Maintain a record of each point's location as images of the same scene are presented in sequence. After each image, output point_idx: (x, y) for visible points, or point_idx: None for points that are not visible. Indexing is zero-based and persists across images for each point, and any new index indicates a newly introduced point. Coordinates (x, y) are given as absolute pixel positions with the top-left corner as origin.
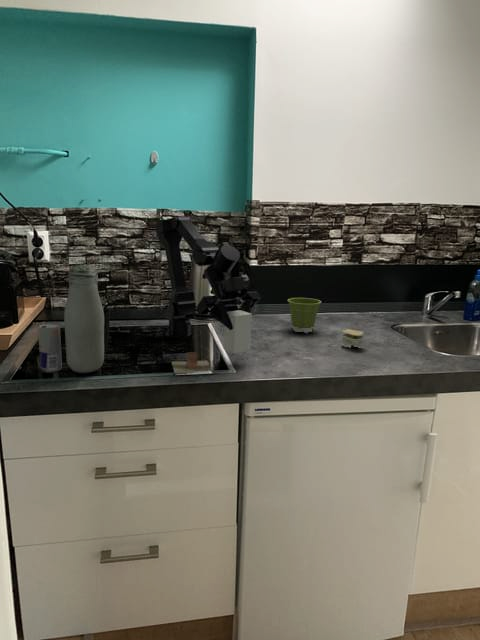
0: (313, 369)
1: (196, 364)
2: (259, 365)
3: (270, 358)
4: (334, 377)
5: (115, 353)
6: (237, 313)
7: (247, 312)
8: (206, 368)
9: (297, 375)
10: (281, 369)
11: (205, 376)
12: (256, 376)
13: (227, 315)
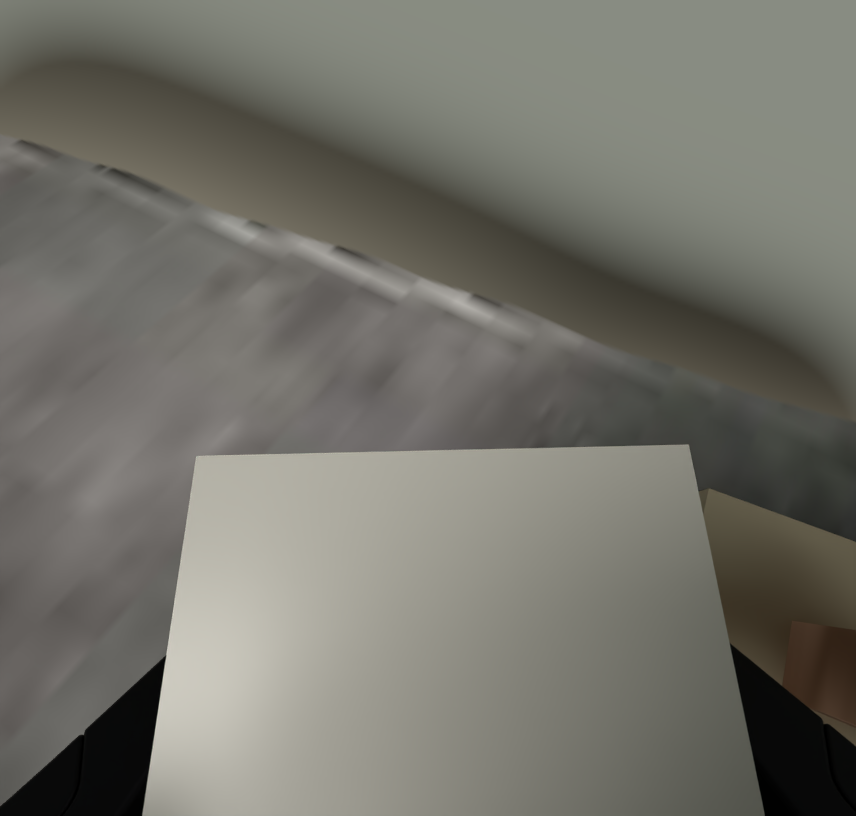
0: (113, 300)
1: (818, 626)
2: None
3: (149, 599)
4: (134, 178)
5: None
6: (496, 689)
7: (71, 795)
8: (725, 577)
9: (260, 269)
10: (260, 379)
11: (753, 491)
12: (463, 351)
13: (787, 773)
